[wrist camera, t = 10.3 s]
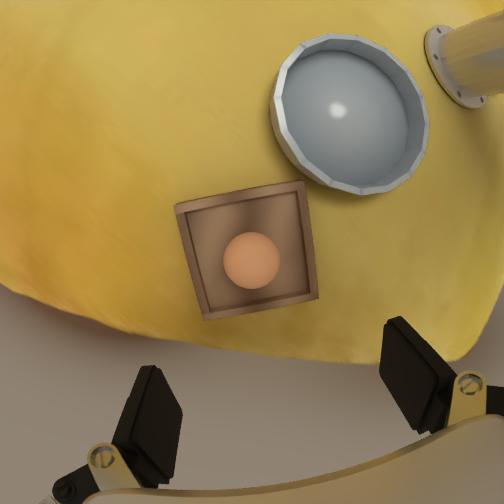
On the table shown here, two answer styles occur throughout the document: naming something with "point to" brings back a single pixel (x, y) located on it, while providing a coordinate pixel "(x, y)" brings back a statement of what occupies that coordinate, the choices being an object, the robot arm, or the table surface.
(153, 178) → the table surface
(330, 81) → the bowl
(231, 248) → the ball
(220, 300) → the tray
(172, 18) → the table surface
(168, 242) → the table surface
